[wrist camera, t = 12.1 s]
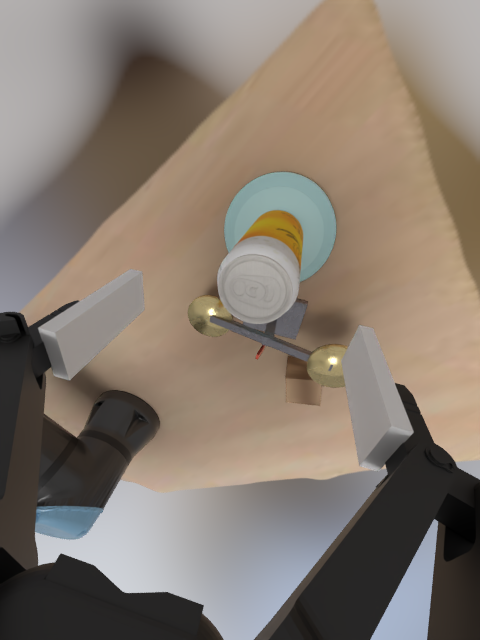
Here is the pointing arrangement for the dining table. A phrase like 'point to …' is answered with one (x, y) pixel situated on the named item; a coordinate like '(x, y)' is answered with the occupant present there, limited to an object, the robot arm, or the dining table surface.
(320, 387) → the walnut block
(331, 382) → the balance
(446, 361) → the dining table surface
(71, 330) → the robot arm
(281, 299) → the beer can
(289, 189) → the dish
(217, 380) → the dining table surface
